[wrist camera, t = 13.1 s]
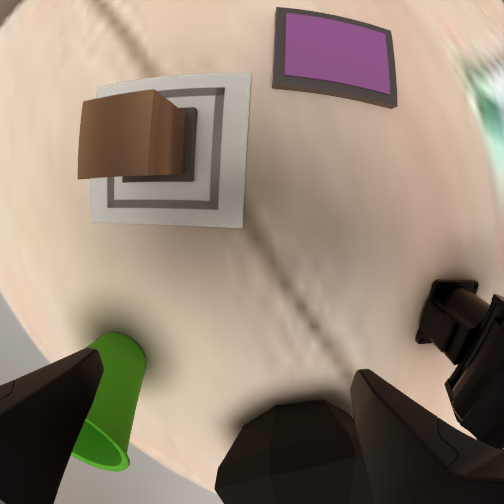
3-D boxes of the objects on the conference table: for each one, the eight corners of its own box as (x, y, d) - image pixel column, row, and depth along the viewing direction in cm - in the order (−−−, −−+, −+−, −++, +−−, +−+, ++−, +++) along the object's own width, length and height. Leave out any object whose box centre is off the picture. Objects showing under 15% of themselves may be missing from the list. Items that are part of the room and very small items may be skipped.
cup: (80, 300, 21) (6, 368, 10) (170, 329, 21) (121, 430, 11) (88, 369, 23) (41, 438, 13) (164, 397, 24) (134, 483, 13)
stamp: (197, 110, 16) (166, 78, 10) (193, 181, 18) (158, 186, 11) (132, 115, 16) (77, 94, 10) (128, 181, 18) (70, 190, 11)
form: (251, 74, 16) (251, 72, 15) (242, 227, 19) (242, 228, 18) (99, 88, 16) (97, 87, 15) (93, 222, 19) (90, 223, 18)
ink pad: (385, 35, 14) (391, 30, 13) (391, 108, 16) (398, 105, 15) (275, 13, 14) (276, 5, 13) (272, 88, 16) (273, 83, 15)
